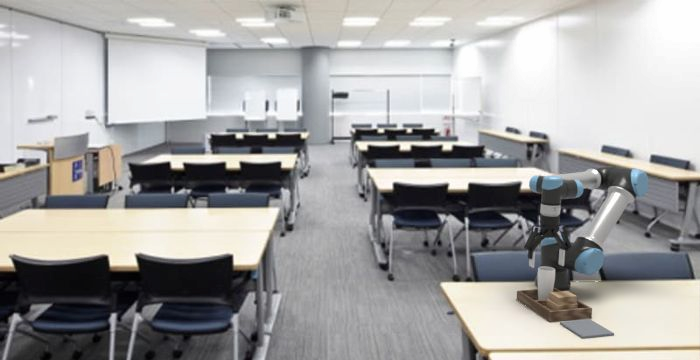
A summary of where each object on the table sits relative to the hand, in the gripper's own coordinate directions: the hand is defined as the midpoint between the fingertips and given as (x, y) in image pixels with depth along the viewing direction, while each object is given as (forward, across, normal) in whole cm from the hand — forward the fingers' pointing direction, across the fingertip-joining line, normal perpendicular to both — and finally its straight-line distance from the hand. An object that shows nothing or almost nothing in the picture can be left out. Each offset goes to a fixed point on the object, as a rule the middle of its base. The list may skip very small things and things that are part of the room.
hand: (546, 266), depth 224 cm
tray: (+16, 0, -5) cm, 17 cm away
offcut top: (+11, 0, -12) cm, 16 cm away
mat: (+16, 0, -26) cm, 31 cm away
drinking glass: (+16, 0, 0) cm, 16 cm away
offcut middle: (+14, 0, -12) cm, 18 cm away
